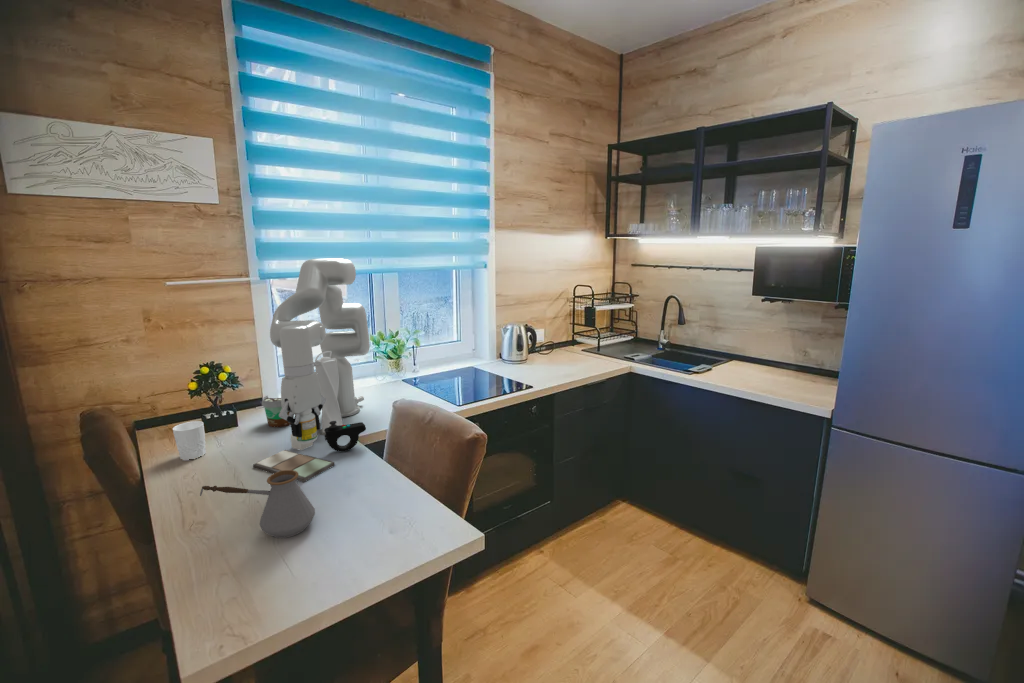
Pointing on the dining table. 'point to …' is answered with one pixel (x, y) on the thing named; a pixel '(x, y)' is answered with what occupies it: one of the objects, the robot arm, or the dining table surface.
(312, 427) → the supplement bottle
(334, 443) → the controller
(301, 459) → the game strip
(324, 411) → the skyscraper
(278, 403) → the food container
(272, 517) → the coffee pot
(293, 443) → the die
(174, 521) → the dining table surface
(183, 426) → the white cup
